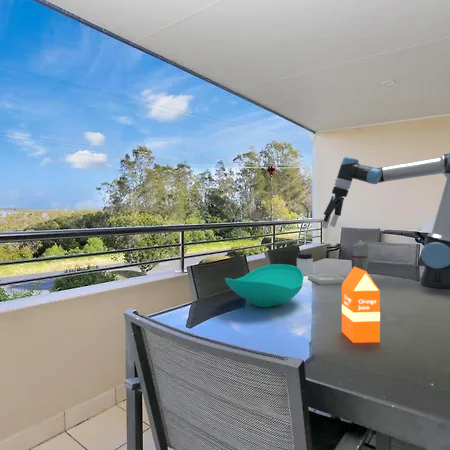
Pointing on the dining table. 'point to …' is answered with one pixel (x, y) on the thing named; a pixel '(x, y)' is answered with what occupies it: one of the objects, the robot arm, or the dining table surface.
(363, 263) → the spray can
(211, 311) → the dining table surface
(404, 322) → the dining table surface
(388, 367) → the dining table surface
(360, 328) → the orange juice
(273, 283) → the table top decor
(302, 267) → the jar
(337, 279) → the tray
